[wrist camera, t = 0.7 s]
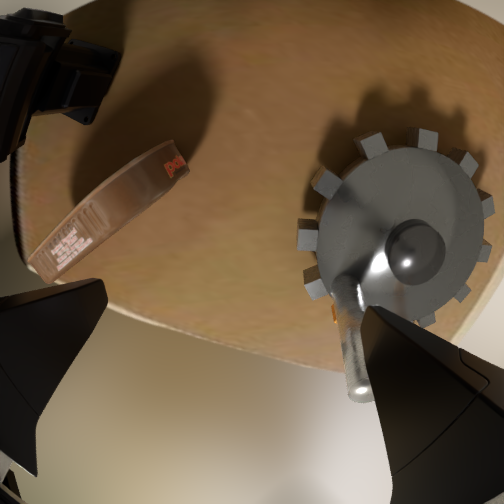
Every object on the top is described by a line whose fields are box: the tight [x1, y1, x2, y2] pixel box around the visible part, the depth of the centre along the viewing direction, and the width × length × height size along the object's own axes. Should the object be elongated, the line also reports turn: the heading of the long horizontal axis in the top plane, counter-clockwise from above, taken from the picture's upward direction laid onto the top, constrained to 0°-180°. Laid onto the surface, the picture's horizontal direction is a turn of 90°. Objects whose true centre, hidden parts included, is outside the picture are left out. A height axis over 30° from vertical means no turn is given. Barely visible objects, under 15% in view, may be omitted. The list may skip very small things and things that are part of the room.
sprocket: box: [297, 127, 495, 403], centre depth 14 cm, size 15×15×11 cm
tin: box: [28, 140, 190, 284], centre depth 18 cm, size 15×3×8 cm, turn 120°
